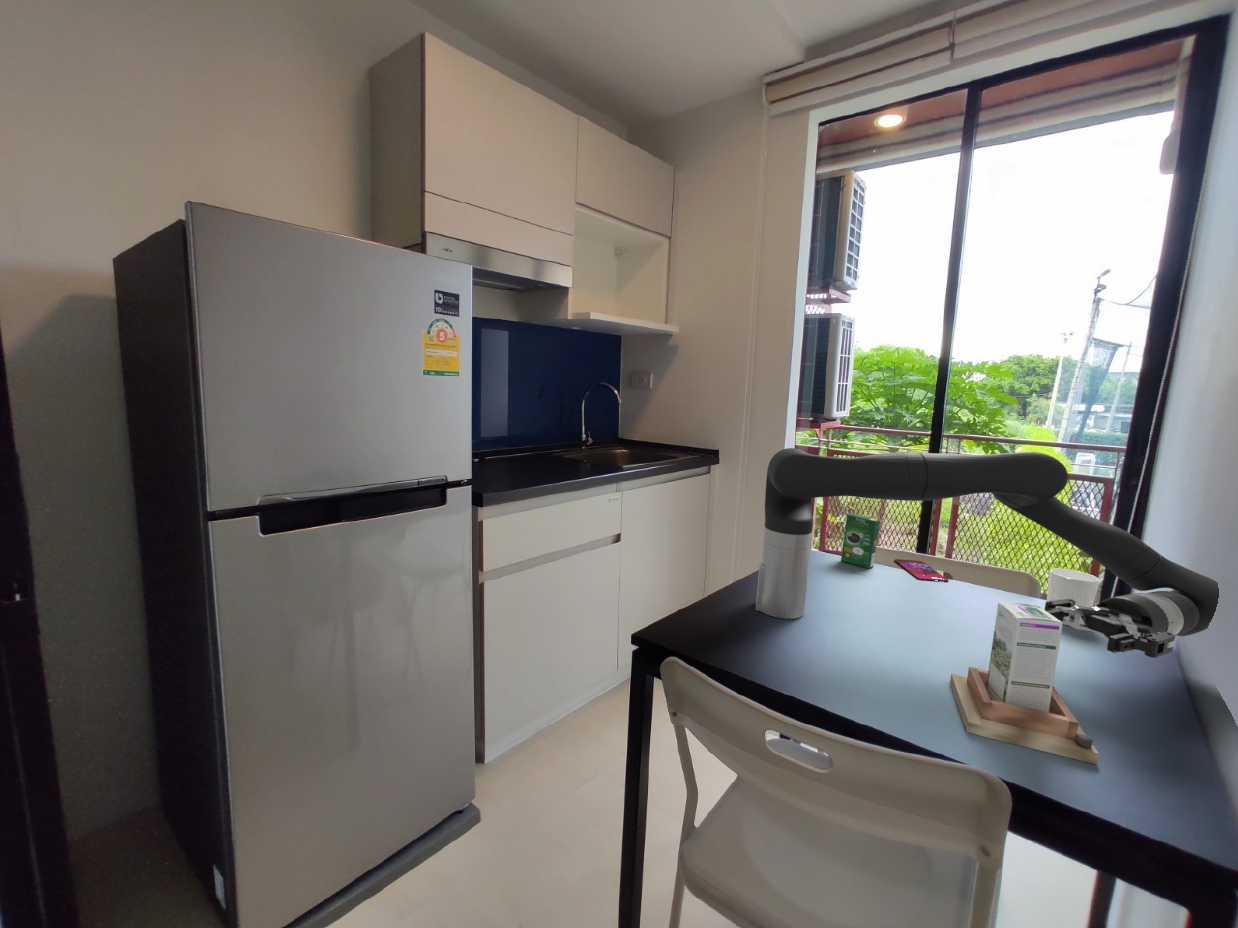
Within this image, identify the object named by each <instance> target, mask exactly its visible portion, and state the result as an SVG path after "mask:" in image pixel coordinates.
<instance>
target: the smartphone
mask: <svg viewBox="0 0 1238 928" xmlns="http://www.w3.org/2000/svg"><path fill="white" fill-rule="evenodd" d="M893 562H894V563H895V564H897V565H898V566H899V567H901V568H902V570H904V571H906V572H907V573H908V575H911V576H912V577H913V578H914V579H915V580H918V581H925V582H926V581H927V582H936V581H935V580H938V581H937V583H939V581H944V582H943V583H949V579H947V578H946V577H945V576H944V575H942V574H941V573H939V572H938V571H937V570H935V569H933V568H932V567H931V566H930V565H929V564H927V563H926V562H924V561H922V560H917V559H916V560H912V559H898V558H897V559H894V560H893ZM923 575H924V576H923ZM931 577H937V578H942V580H941V579H932V578H931ZM943 579H944V580H943Z"/></svg>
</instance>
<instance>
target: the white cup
mask: <svg viewBox="0 0 1238 928" xmlns="http://www.w3.org/2000/svg"><path fill="white" fill-rule="evenodd" d="M1099 583H1100V578H1098V577H1097V576H1095V575H1092V574H1089V573H1087V572H1083V571H1079V570H1074V569H1069V568H1060V567H1054V568H1051V569H1049V575H1048V584H1047V594H1046V595H1047V596H1046V601H1054V600H1063V599H1072V600H1074V601H1075V605H1076V606H1084V607H1094V603H1095V599H1096V595H1097V591H1098V588H1099ZM1064 619H1070V617H1068V616H1067V617H1064ZM1079 624H1084V622H1083V620H1082V619H1081V616H1080V622H1079ZM1064 626H1067V625H1066V624H1064ZM1068 626H1070V627H1072V626H1071V625H1068Z"/></svg>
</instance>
